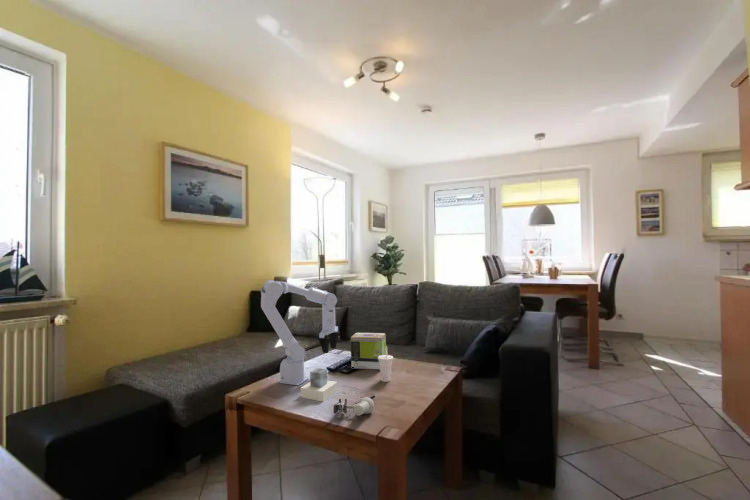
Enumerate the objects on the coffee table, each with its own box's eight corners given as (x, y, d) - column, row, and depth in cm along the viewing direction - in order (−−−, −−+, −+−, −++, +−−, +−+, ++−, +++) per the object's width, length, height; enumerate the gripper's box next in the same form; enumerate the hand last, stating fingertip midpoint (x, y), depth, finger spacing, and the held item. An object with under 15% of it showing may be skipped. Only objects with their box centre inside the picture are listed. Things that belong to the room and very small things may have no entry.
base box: (300, 398, 131) (300, 387, 131) (316, 388, 140) (315, 378, 140) (323, 402, 126) (323, 391, 126) (337, 392, 136) (337, 382, 136)
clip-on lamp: (353, 407, 128) (330, 418, 112) (352, 388, 130) (330, 397, 113) (383, 408, 124) (364, 419, 108) (382, 389, 126) (363, 397, 110)
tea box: (386, 363, 168) (386, 332, 168) (382, 370, 158) (381, 337, 158) (356, 361, 171) (356, 331, 171) (350, 368, 161) (350, 336, 161)
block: (310, 386, 132) (310, 371, 132) (317, 382, 136) (316, 367, 136) (320, 388, 130) (320, 373, 130) (327, 383, 134) (327, 369, 134)
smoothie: (392, 383, 142) (391, 349, 142) (376, 382, 144) (376, 348, 144) (394, 377, 149) (393, 344, 149) (379, 376, 150) (379, 344, 150)
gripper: (329, 323, 147) (330, 355, 147) (343, 317, 160) (344, 346, 160) (314, 322, 149) (315, 354, 149) (330, 316, 163) (330, 345, 163)
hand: (329, 350), depth 155 cm, fingers open, 7 cm apart
